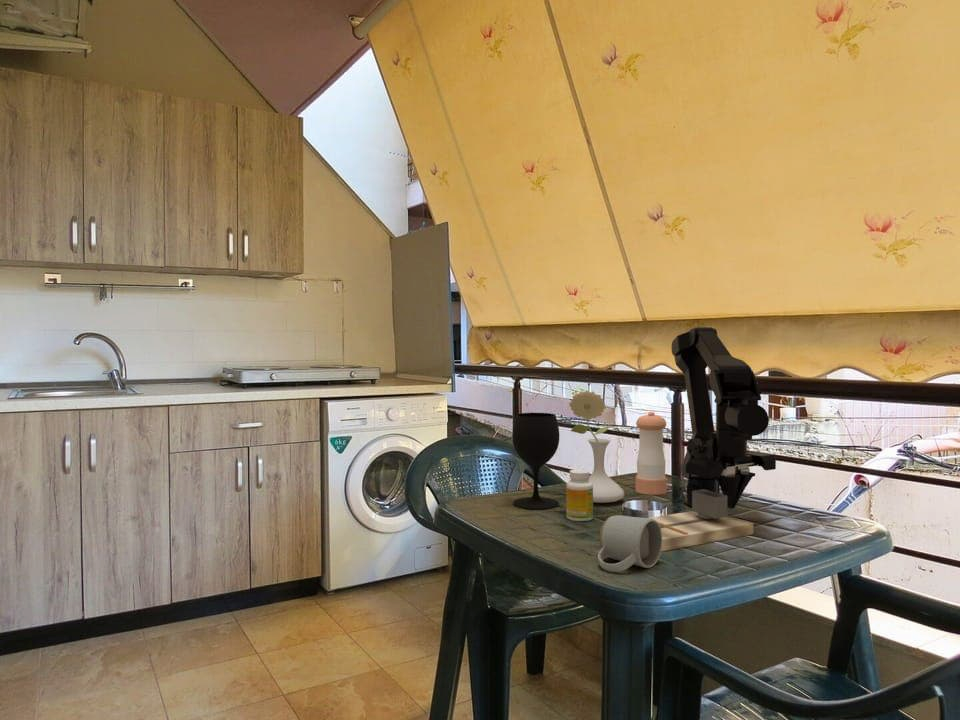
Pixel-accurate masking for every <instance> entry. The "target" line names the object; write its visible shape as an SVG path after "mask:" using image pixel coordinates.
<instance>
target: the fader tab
mask: <svg viewBox="0 0 960 720" xmlns="http://www.w3.org/2000/svg"><path fill="white" fill-rule="evenodd" d="M691 511H693V512H696V513H699V514H698V517H702V518H705V519H712V518H715V519H717V518H723V517H727V516H728V507H727V496H726V495H723V493H722V494H721V493H720V494H719V493H715V492H712V491H708V490H704V489H703V490H696V491H692V506H691Z"/></svg>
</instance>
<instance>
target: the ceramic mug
mask: <svg viewBox="0 0 960 720" xmlns="http://www.w3.org/2000/svg"><path fill="white" fill-rule="evenodd" d="M649 518H650V517H637V516H628V515H618V514H617V515H611V516H609V517H608V518H606V519H605V520H604V522H603V524H602V526H601V528H600V531H599V532H600V534H599V545H600V548H601V549H600V550H599V551H598V553H597V554H598V555H597V560H598V563H599V566H600V568H602V570H604V571H605V572H609V573H619V572H623V571H626V570H627V569H629V568H630V567H632V566H635V567H636V566H637V567H641V568H645V569H650V568H652V567H654V566H655V565H656V563H657V562H658V561H659V559H660V556H661V553H662V551H661V549H662V533H661V528H660V526H659V524H658V522H657V521H656V520H654V519H649ZM605 557H609V558H610V559H611V560H615V561H618V562H616V563H607V562H605V561H604V558H605Z"/></svg>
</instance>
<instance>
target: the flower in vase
mask: <svg viewBox="0 0 960 720" xmlns="http://www.w3.org/2000/svg"><path fill="white" fill-rule="evenodd" d="M570 401H571V402H569V403H568V405H569V407H570V410H571V411H572V413H573V415H574V416H577V417H578V418H580V417H582V419H583V420H586V425H584V424H582V423H581V424H580V423H579V424H577V425H575V426H574V427H572V429H571V430H570V432H573V433H577V434H579V435H580V434H581V435H583V434H586V433H587V432H588V430H589V432H590V433H591V434H592V436H593V437H594V438H590V439H588V440H587V441H588V443H589V444H590V446H591V449H592V453H593V471H592V473H591V474H589V479H588V481H590V482H591V483H592V484H593V503H596V504H598V503H599V504H602V503H603V504H604V503H605V504H606V503H614V502H618V501H620V500H622V499H623V498H624V497H625V492H624V489H623V488H621V487H622V486H620V485H619V484H618V483H617V482H616V481H614V479H612V478H611V477H610V476H609V475H608V474H607V473H606V470H605V455H606V450H607V447H608V445H609V444H610V443H611V440H610V439H607V438H598V437H596V435H600V434H604V433H605V432H606V431H607V430H608V429H609V428H610V427H611V425H612V424H609V425H607V426H604V427H601V428H599V429H598V430H597V431H596V432H595V433H594V432H593V430H592V429H591V427H590V424H589V420H592V419H596V418H598V417H601V416H602V415H603V413H604V411H605V409H606V403H605V401H604V399H603V398H602V397H601V394H596V393H595V392H594V391H589V390H585V391H583V390H581V391H579V393H575V394H574V395H573V396H572V398H571V400H570Z"/></svg>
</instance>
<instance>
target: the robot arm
mask: <svg viewBox="0 0 960 720" xmlns="http://www.w3.org/2000/svg"><path fill="white" fill-rule="evenodd" d="M671 353H672V356H674V363H675V365H676V366H677V368H678V369H679V370H680V371H681V372H682V374H683V375H684V380H685V388H686V397H687V403H688V405H687V406H688V411H689V418H690V420H689V421H690V426H691V434H692V435H691V436H690V437H691V438H690V439H688V440H687V446H686V452H685V456H684V457H683V460H682V463H681V465H680V471H681V477H683V478H685V479H686V480H687V484H686V500H684V501H682V505H686V506H689V507H692V491H696V490H703V489H704V490H708V491H712V492H715V493H719V494H721V493H722V494H723V495H726V496H727V509H735V508H736V506H737V504H738V502H739V500H740V498H741V497H742V494H743V493H744V491H745V489H747V486H748V485H749V483H750V482H751V480H752V479H753V477H756V473H754V472H750V471H751V469H750V468H752V467H757V466H758V467H761V468H762V469H763V470H764V471H773V470H776V469H777V460H776V458H775V457H774V456H773V454H769V453H766V452H765V453H764V452H760V451H759V452H758V451H748V441H752V440H753V437H755V436H759V435H761V434H763V433H764V432H765V431H766V430H767V428H768V426H769V424H770V423H769V422H770V417H769V415H768V412H767V410H766V409H765V408H764V407H763V406H761V405H759V401H761V400H762V395H761V394H762V390H761V387H760V385H759V383H758V380H757V377H756V375H755V373H754V370H752V368H751V366H750V365H749V364H748V363H747V362H746V361H744V359H743V360H742V359H740V358H737V357H734V356H733V355H732V354H731V353H730V351H729V350H728V348H727V347H726V346H725V344H724V343H723V341H722V340H721V338H720V337H719V336H718V331H717V329H716V328H714V327H711V326H703V327H702V326H701V327H700V326H698V327H697V326H695V327H694V328H691V329H690V330H688V331H687V332H684V333H681V334H678V335H677V336H676V337H675V338H674V339H673V340H672V342H671ZM707 367H708V368H709V370H710V372H709V378H708V379H707V371H706V369H707ZM708 380H709V382H708ZM708 383H709V385H708ZM709 386H710V388H711V390H712V392H713V394H714V396H715V399H714V403H715V424H714V419H713V412H712V406H711V405H712V403H711V400H710V399H711V397H710V393H709V392H710V391H709ZM720 490H721V493H720Z"/></svg>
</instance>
